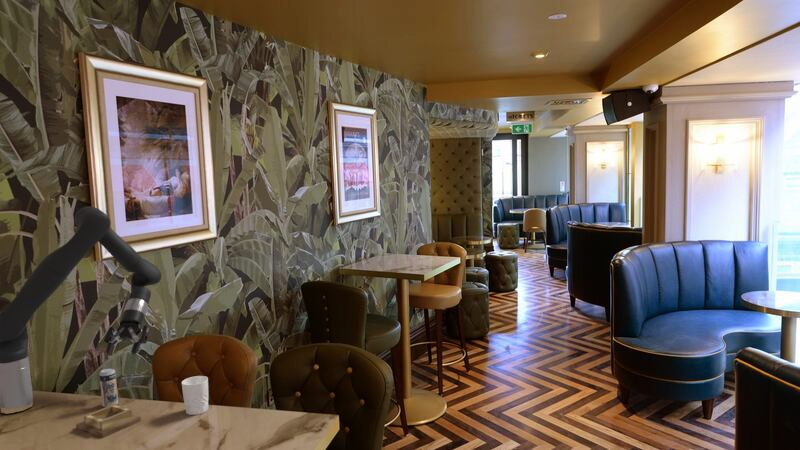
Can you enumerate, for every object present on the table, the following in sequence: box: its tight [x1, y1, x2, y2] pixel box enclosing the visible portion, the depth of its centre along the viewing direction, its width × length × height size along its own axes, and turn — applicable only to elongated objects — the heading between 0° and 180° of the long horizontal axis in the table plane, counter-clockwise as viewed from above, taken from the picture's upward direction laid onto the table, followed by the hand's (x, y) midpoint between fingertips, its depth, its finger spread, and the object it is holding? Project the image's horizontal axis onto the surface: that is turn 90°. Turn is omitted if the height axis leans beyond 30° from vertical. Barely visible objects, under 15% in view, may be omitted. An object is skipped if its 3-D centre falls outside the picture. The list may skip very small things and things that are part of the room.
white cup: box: [181, 375, 209, 416], centre depth 175 cm, size 8×8×10 cm
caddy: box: [75, 404, 142, 438], centre depth 168 cm, size 14×12×4 cm
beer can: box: [99, 367, 119, 408], centre depth 183 cm, size 5×5×12 cm
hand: (121, 354), depth 191 cm, fingers open, 8 cm apart
